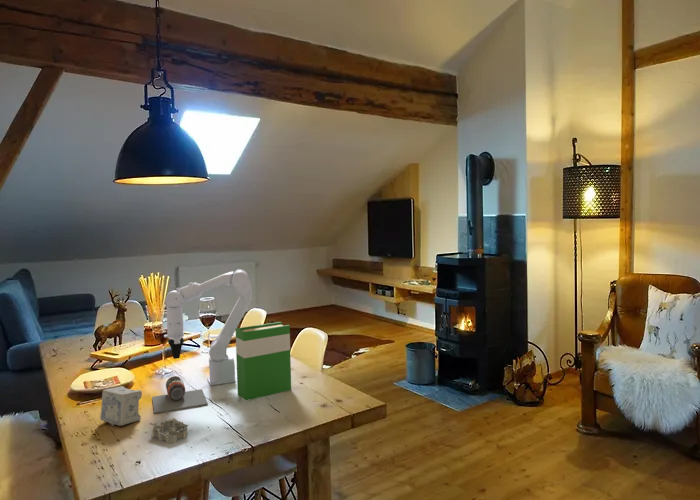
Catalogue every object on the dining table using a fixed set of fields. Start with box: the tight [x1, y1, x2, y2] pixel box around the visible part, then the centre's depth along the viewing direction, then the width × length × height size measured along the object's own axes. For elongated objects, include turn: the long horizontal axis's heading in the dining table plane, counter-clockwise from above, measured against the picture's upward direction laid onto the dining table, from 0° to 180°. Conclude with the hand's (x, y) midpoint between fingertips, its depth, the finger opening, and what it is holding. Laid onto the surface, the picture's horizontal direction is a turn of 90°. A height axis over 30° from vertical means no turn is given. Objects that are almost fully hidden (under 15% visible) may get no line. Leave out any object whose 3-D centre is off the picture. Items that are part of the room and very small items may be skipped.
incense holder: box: [99, 385, 143, 427], centre depth 157 cm, size 10×8×10 cm
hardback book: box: [235, 321, 292, 402], centre depth 180 cm, size 18×7×24 cm, turn 124°
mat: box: [151, 388, 209, 415], centre depth 172 cm, size 17×15×1 cm
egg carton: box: [149, 417, 190, 444], centre depth 147 cm, size 11×8×4 cm
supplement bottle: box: [165, 375, 186, 400], centre depth 175 cm, size 6×6×11 cm
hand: (176, 358), depth 188 cm, fingers closed
